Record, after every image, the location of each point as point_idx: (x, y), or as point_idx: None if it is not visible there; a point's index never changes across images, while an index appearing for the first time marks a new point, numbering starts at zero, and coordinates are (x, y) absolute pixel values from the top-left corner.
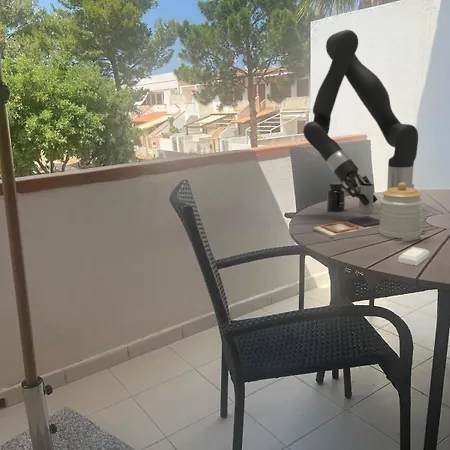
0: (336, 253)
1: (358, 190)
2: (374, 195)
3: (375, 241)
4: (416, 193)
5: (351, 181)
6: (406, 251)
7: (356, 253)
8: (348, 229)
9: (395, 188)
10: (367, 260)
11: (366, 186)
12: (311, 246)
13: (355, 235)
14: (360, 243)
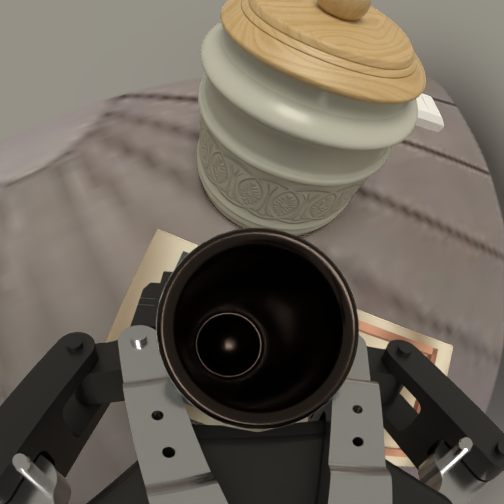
0: (494, 258)
1: (366, 374)
2: (160, 292)
3: (380, 214)
4: None
5: (425, 488)
6: (427, 111)
7: (470, 219)
8: (391, 332)
9: (334, 30)
10: (474, 183)
11: (347, 286)
12: (501, 341)
13: (372, 305)
14: (422, 245)
